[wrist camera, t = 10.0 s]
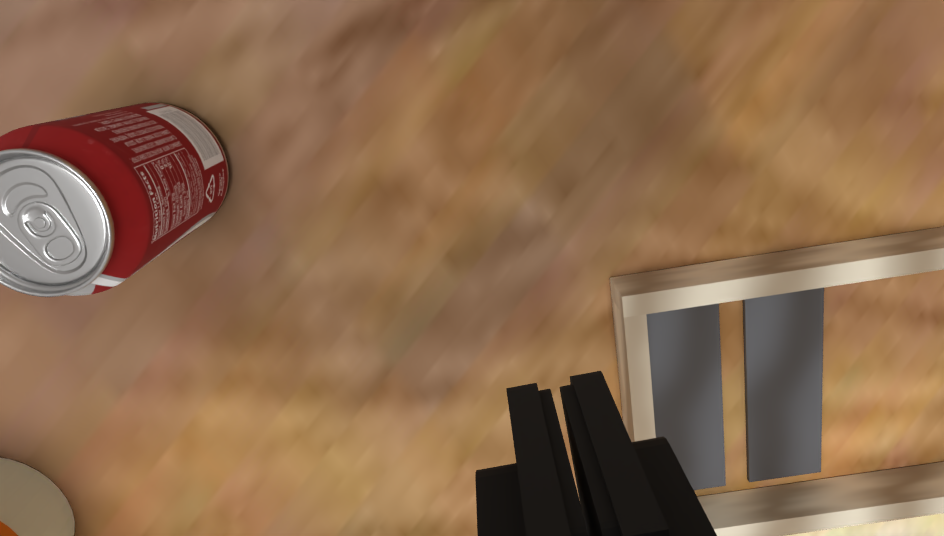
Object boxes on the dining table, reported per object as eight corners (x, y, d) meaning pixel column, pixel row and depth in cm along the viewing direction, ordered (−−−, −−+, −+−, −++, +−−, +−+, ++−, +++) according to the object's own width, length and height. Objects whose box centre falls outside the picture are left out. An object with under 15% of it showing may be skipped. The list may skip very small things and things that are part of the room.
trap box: (1184, 189, 37) (1245, 202, 34) (1133, 450, 42) (1182, 479, 40) (609, 277, 38) (621, 296, 35) (632, 521, 43) (644, 555, 41)
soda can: (183, 76, 34) (46, 95, 23) (258, 192, 36) (166, 262, 25) (76, 140, 35) (-108, 188, 23) (154, 249, 37) (20, 342, 25)
